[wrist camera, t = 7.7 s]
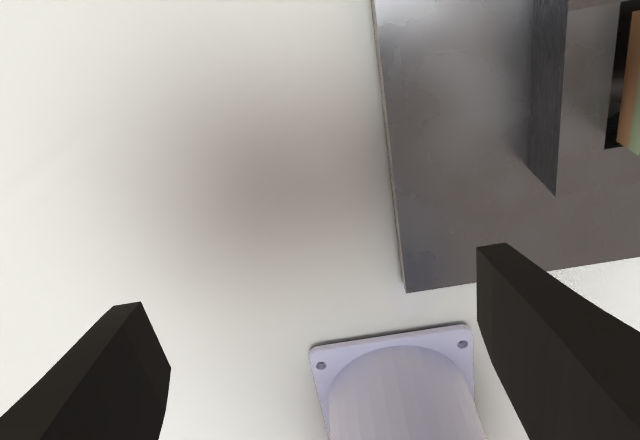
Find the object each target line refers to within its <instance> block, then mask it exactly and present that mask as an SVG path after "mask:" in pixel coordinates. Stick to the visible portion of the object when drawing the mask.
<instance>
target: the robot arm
mask: <svg viewBox="0 0 640 440" xmlns="http://www.w3.org/2000/svg"><path fill="white" fill-rule="evenodd" d="M476 275H477V322H478V325H479V328H480V331H481V334H482V337H483V339H484V342H485V345H486V348H487V351H488V354H489V356H490V359H491V362H492V364H493V366H494V368H495V371H496V373H497V375H498V377H499V379H500V381H501V383H502V385H503V387H504V389H505V391H506V393H507V395H508V397H509V399H510V401H511V403H512V405H513V407H514V409H515V411H516V413H517V415H518V417H519V419H520V421H521V423H522V425H523V427H524V429H525V431H526V433H527V435H528V437H529V439H530V440H640V332H639V331H637V330H635V329H634V328H632V327H630V326H629V325H627V324H625V323H624V322H622V321H620V320H619V319H617V318H615V317H614V316H612V315H610V314H609V313H607V312H605V311H604V310H602V309H601V308H599V307H598V306H596V305H594V304H593V303H591V302H590V301H588V300H587V299H585V298H584V297H582V296H581V295H579V294H578V293H576V292H575V291H573V290H572V289H570V288H569V287H567V286H566V285H564V284H563V283H561V282H560V281H559V280H557V279H556V278H554V277H553V276H551V275H550V274H549V273H547V272H546V271H544V270H543V269H542V268H540V267H539V266H538V265H536V264H535V263H533V262H532V261H531V260H529V259H528V258H527V257H525V256H524V255H523V254H521V253H520V252H518V251H517V250H516V249H514V248H513V247H512V246H510V245H509V244H507V243H506V242H505V243H499V244H492V245H486V246H480V247H476ZM460 341H464V342H462V343H459V342H460ZM309 360H310V364H311V368H312V372H313V376H314V380H315V384H316V388H317V392H318V396H319V400H320V404H321V408H322V413H323V417H324V421H325V425H326V429H327V433H328V437H329V440H487V437H486V434H485V431H484V429H483V426H482V423H481V421H480V418H479V415H478V412H477V410H476V407H475V404H474V373H473V338H472V332H471V329H470V327H468V326H467V325H464V324H459V325H452V326H446V327H439V328H433V329H426V330H420V331H413V332H407V333H400V334H393V335H387V336H380V337H374V338H367V339H361V340H354V341H347V342H341V343H334V344H328V345H321V346H316V347H313V348H312V349H311V350H310V352H309ZM319 362H324V363H323V364H319ZM170 373H171V367H170V365H169V363H168V360H167V358H166V356H165V354H164V352H163V349H162V347H161V345H160V343H159V341H158V338H157V336H156V334H155V332H154V330H153V327H152V325H151V323H150V321H149V318H148V316H147V314H146V312H145V310H144V307H143V305H142V303H141V302H134V303H128V304H122V305H116V306H113V307H112V308H111V309H110V310H108V311H107V312H106V313H105V314H104V315H103V316H102V317H101V318H100V319H99V320H98V321H97V322H96V323H95V324H94V325H93V326H92V327H91V328H90V329H89V330H88V331H87V332H86V333H85V334H84V335H83V336H82V337H81V338H80V339H79V340H78V342H77V343H76V344H75V345H74V346H73V347H72V348H71V349H70V350H69V351H68V352H67V353H66V354H65V355H64V356H63V357H62V358H61V359H60V360H59V361H58V362H57V363H56V364H55V365H54V366H53V367H52V368H51V369H50V370H49V371H48V372H47V373H46V374H45V375H44V376H43V377H42V378H41V379H40V380H39V381H38V382H37V383H36V384H35V385H34V386H33V387H32V388H31V389H30V390H29V391H28V392H27V393H26V394H25V395H23V396H22V397H21V398H20V399H19V400H18V401H17V402H16V403H15V404H14V405H13V406H12V407H11V408H10V409H9V410H8V411H7V412H6V413H5V414H3V415H2V416H1V417H0V440H158V439H159V435H160V431H161V427H162V424H163V420H164V416H165V411H166V404H167V397H168V390H169V381H170Z"/></svg>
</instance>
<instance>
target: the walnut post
mask: <svg viewBox="0 0 640 440" xmlns="http://www.w3.org/2000/svg"><path fill="white" fill-rule="evenodd" d="M616 141H617V142H618V143H620V144H621V145H623V146H624V147H626V148H627V149H629V150H630V151H632V152H633V153H635V154H636V155H638V156H639V157H640V10H638V11H633V12H632V20H631V28H630V35H629V43H628V51H627V59H626V67H625V75H624V83H623V91H622V99H621V107H620V115H619V123H618V131H617V139H616Z"/></svg>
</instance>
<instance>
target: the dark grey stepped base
mask: <svg viewBox="0 0 640 440" xmlns="http://www.w3.org/2000/svg"><path fill="white" fill-rule="evenodd" d="M371 4H372V13H373V22H374V31H375V40H376V49H377V58H378V67H379V76H380V85H381V94H382V103H383V112H384V121H385V130H386V139H387V148H388V157H389V166H390V175H391V184H392V193H393V201H394V210H395V219H396V228H397V237H398V246H399V255H400V264H401V273H402V281H403V284H404V288H405V291H406V293H411V292H418V291H424V290H431V289H437V288H443V287H450V286H456V285H462V284H469V283H475V282H477V275H476V247H480V246H486V245H492V244H499V243H505V242H506V243H507V244H509V245H510V246H512V247H513V248H514V249H516V250H517V251H518V252H520V253H521V254H523V255H524V256H525V257H527V258H528V259H529V260H531V261H532V262H533V263H535V264H536V265H538V266H539V267H540V268H542V269H543V270H544V271H552V270H558V269H565V268H571V267H578V266H584V265H590V264H597V263H603V262H610V261H616V260H622V259H629V258H635V257H640V157H639V156H638V155H636V154H635V153H633V152H632V151H630V150H629V149H627V148H626V147H624V146H623V145H621V144H620V143H618V142H617V141H616V139H617V131H618V123H619V115H620V107H621V99H622V91H623V83H624V75H625V67H626V59H627V51H628V43H629V35H630V28H631V20H632V12H633V11H638V10H640V0H371Z"/></svg>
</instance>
